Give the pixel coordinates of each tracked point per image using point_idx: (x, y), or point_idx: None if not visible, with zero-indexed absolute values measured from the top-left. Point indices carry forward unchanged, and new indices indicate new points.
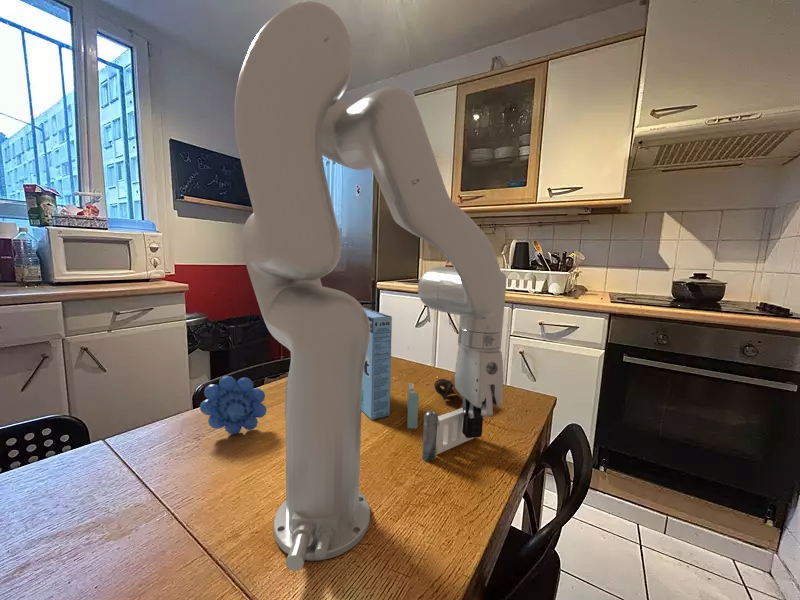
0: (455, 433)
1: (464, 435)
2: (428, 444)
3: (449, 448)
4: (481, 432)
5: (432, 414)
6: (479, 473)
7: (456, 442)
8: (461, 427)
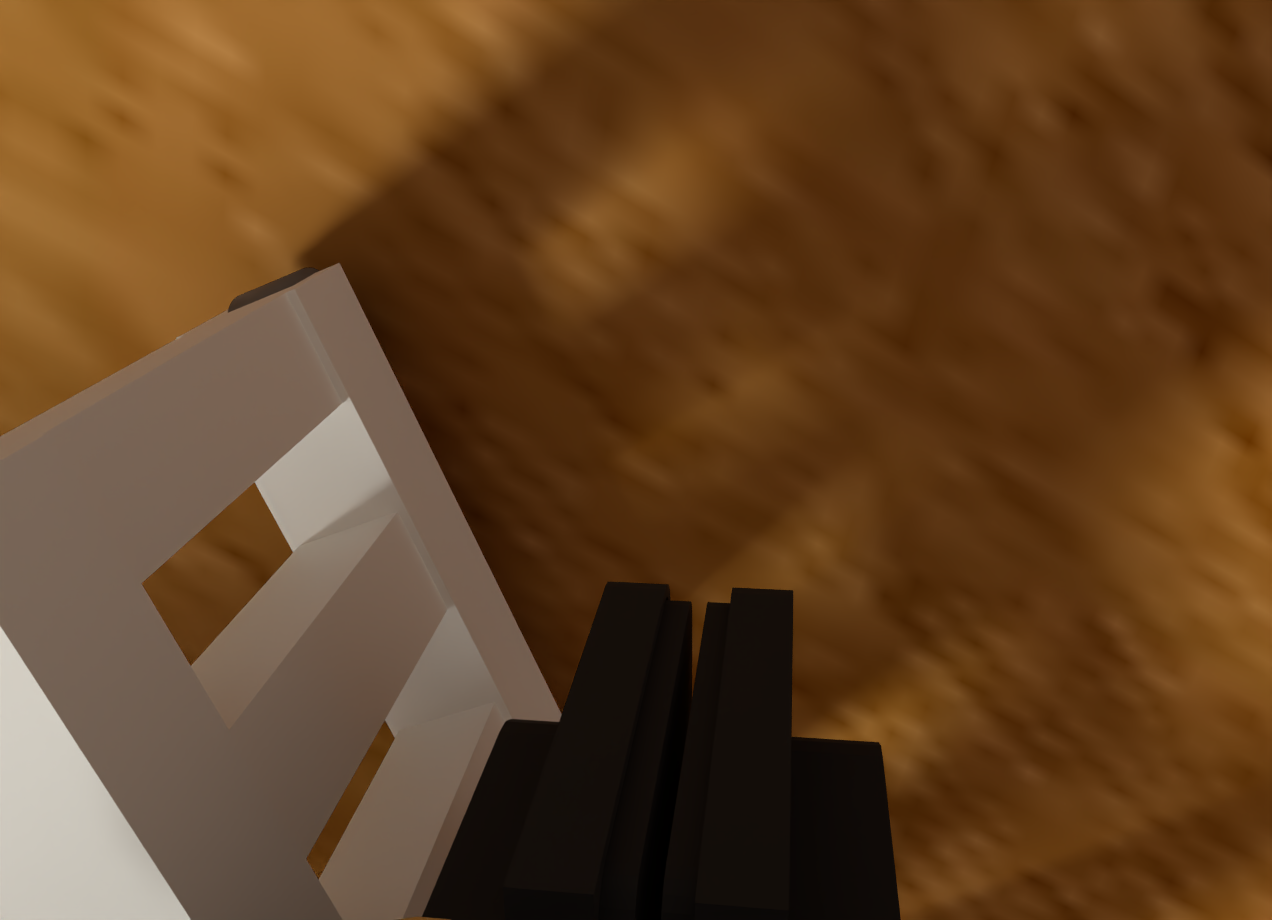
0: None
1: (432, 612)
2: None
3: None
4: (790, 631)
5: None
6: (1225, 683)
7: None
8: (444, 832)
